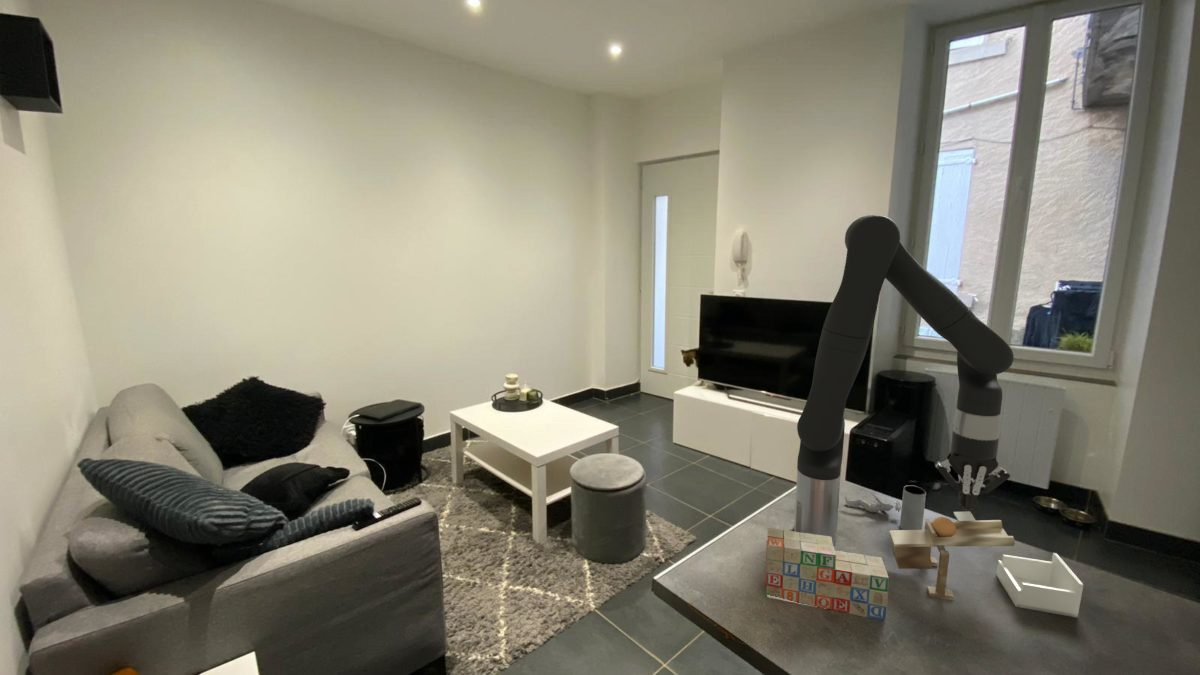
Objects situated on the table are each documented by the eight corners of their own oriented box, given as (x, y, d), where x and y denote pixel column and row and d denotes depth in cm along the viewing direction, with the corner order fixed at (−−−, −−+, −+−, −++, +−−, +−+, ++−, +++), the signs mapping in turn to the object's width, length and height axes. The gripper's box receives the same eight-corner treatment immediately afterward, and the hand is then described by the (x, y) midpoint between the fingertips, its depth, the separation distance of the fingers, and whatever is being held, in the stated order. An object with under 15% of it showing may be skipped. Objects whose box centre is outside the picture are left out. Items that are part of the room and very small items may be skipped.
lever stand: (929, 596, 96) (934, 553, 94) (913, 557, 107) (917, 518, 105) (953, 600, 94) (958, 557, 92) (934, 560, 106) (939, 521, 104)
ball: (936, 542, 97) (934, 524, 96) (930, 530, 101) (928, 513, 100) (960, 542, 96) (957, 523, 95) (953, 530, 99) (951, 512, 99)
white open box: (1015, 606, 92) (1020, 574, 91) (996, 574, 101) (1000, 545, 99) (1077, 617, 89) (1083, 584, 88) (1051, 584, 97) (1056, 553, 96)
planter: (918, 524, 118) (922, 486, 116) (924, 535, 114) (928, 496, 112) (897, 521, 120) (901, 484, 118) (902, 532, 116) (906, 493, 114)
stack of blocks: (878, 598, 96) (883, 543, 93) (885, 622, 90) (891, 564, 88) (765, 577, 103) (767, 526, 100) (765, 598, 97) (766, 544, 95)
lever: (900, 573, 99) (894, 537, 98) (887, 536, 111) (881, 504, 110) (1020, 574, 91) (1015, 536, 90) (993, 534, 103) (988, 500, 102)
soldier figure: (847, 502, 131) (896, 496, 127) (852, 521, 128) (903, 515, 124) (843, 494, 126) (894, 486, 121) (849, 513, 123) (901, 506, 118)
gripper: (942, 435, 97) (935, 513, 101) (1024, 441, 93) (1013, 522, 96) (932, 421, 104) (925, 494, 108) (1007, 427, 99) (997, 503, 103)
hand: (966, 507), depth 102 cm, fingers closed
